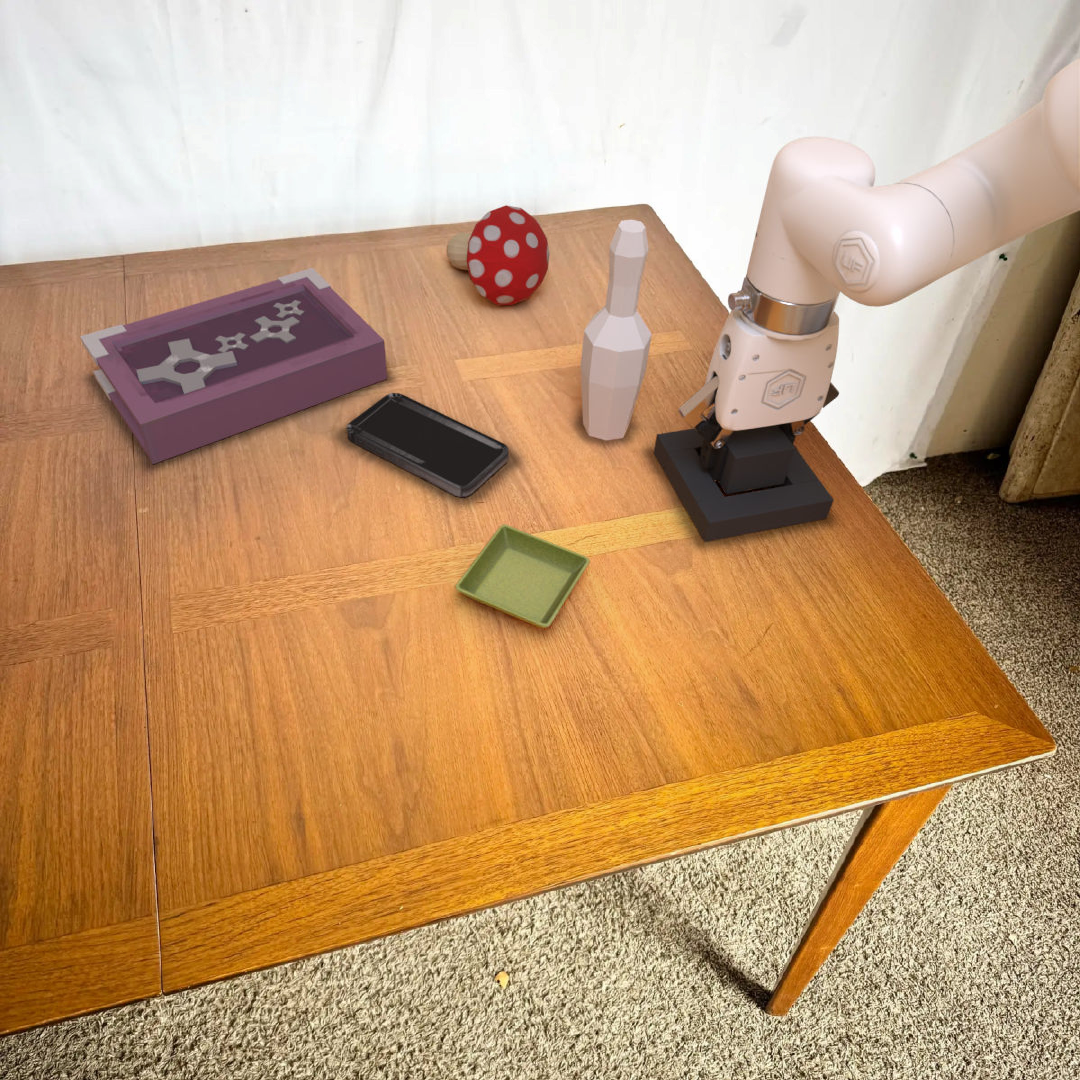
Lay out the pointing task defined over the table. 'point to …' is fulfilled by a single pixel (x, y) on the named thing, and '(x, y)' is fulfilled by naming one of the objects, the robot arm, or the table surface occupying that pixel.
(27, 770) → the table surface
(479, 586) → the green square tray
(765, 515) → the frame pad
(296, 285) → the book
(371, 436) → the phone
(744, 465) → the black square block
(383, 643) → the table surface
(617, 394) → the faceted bottle
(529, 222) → the decorative mushroom
